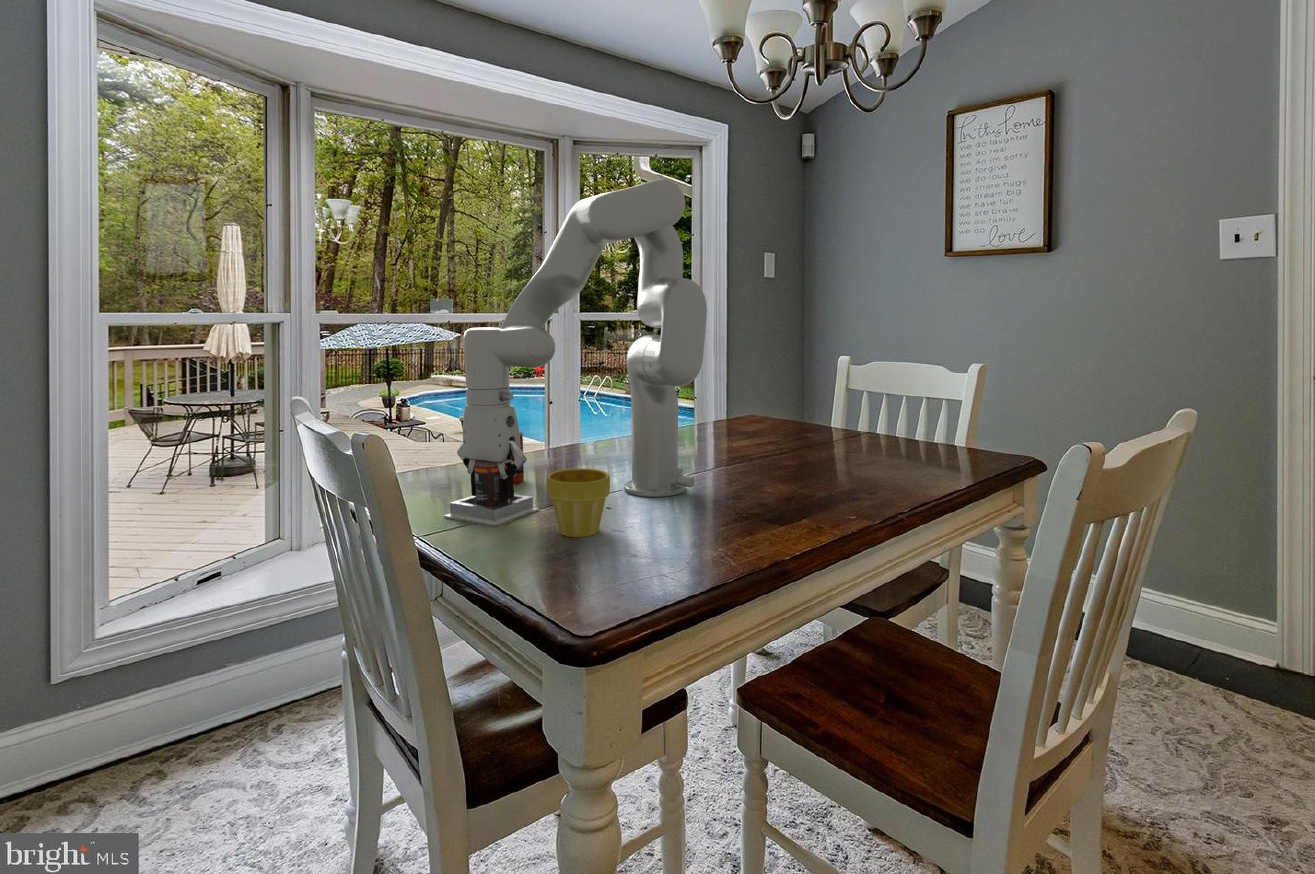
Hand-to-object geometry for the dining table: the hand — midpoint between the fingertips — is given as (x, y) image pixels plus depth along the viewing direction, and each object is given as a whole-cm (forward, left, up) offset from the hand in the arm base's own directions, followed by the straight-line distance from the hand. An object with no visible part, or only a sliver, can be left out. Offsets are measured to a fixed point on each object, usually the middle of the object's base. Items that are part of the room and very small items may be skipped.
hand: (492, 495), depth 133 cm
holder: (0, 0, -3) cm, 3 cm away
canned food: (+15, -21, -4) cm, 26 cm away
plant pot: (-20, +1, -4) cm, 20 cm away
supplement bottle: (0, 0, -3) cm, 3 cm away
